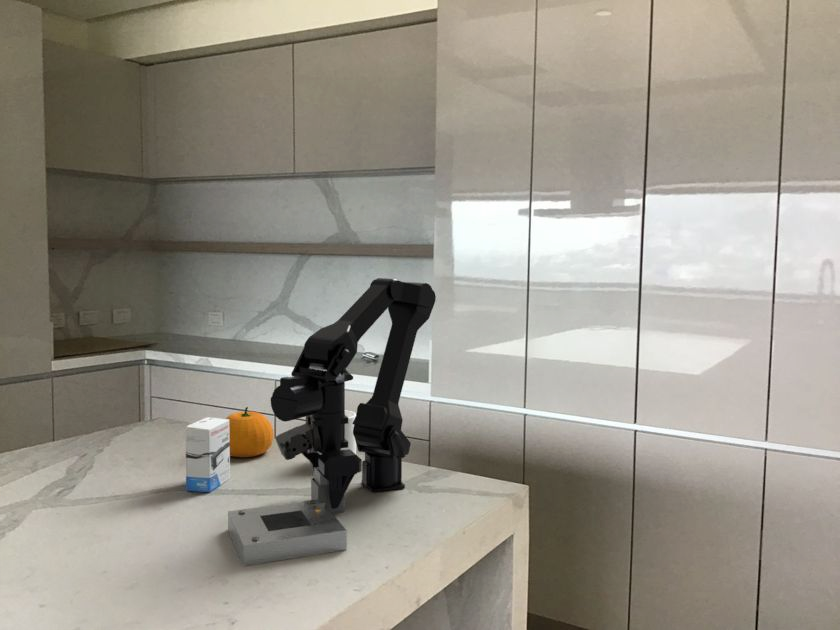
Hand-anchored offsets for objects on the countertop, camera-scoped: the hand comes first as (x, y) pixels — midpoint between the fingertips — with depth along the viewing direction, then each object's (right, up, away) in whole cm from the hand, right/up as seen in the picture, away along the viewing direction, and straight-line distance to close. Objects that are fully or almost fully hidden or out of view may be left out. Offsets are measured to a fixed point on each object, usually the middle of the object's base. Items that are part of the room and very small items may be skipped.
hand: (327, 500), depth 127 cm
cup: (-3, +1, +25) cm, 25 cm away
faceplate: (-5, -3, -13) cm, 14 cm away
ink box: (-23, 0, +12) cm, 26 cm away
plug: (0, -2, 0) cm, 2 cm away
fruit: (-21, +2, +32) cm, 39 cm away
